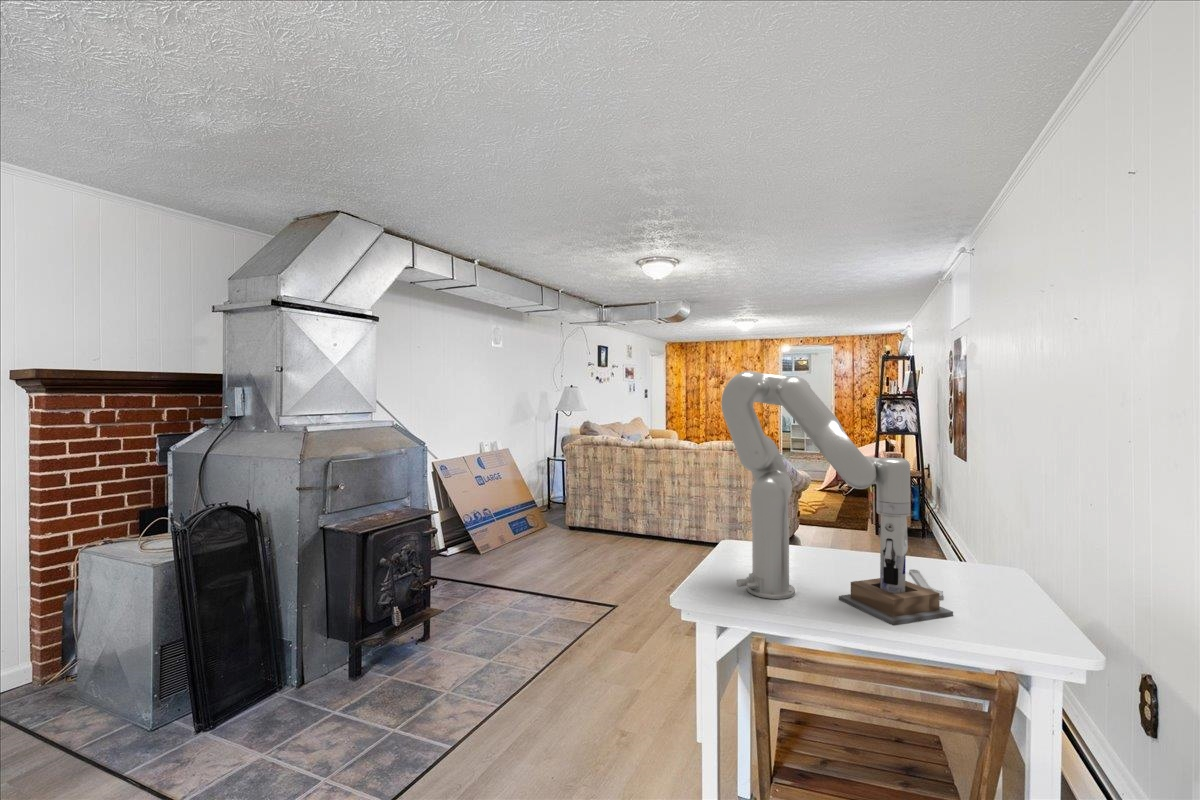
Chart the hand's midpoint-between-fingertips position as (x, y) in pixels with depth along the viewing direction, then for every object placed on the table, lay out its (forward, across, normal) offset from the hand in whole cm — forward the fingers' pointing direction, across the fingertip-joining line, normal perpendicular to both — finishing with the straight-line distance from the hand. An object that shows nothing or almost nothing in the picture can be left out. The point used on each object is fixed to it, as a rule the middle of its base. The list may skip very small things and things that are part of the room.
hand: (892, 580), depth 147 cm
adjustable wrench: (+7, +23, -5) cm, 24 cm away
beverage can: (+5, 0, 0) cm, 5 cm away
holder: (+7, 0, 0) cm, 7 cm away
